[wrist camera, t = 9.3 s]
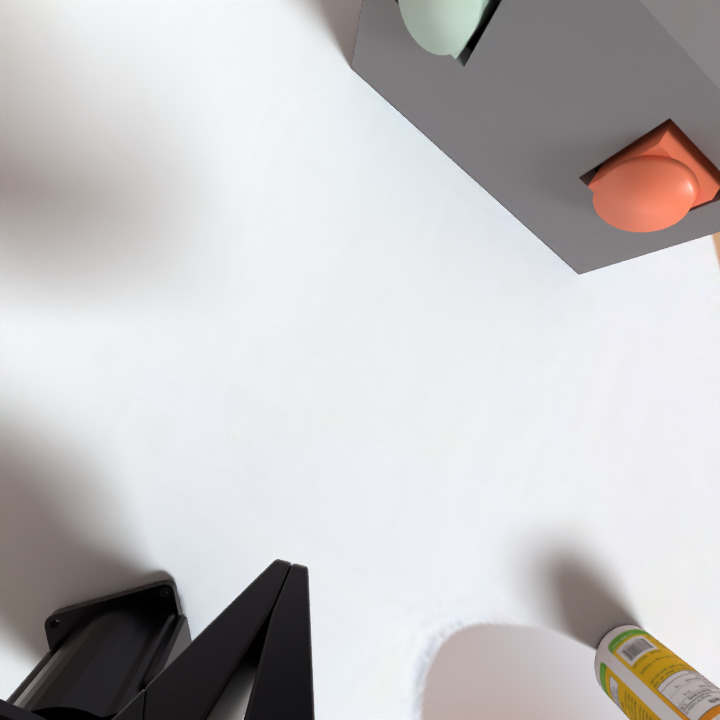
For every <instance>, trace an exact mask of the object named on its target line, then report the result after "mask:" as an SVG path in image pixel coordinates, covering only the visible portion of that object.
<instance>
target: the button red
mask: <svg viewBox="0 0 720 720" xmlns="http://www.w3.org/2000/svg"><path fill="white" fill-rule="evenodd" d="M588 187H589V188H590V189H591V190H592V191H593V192H594V194H593V205H594V208H595V211H596V212H597V214H598V215H599V216H600V217H601V219H603V220H604V221H605V222H606V223H608V224H610V225H611V226H613V227H616V228H618V229H621V230H625V231H630V232H653V231H658V230H661V229H665V228H667V227H670V226H672V225H674V224H675V223H677V222H678V221H680V220H681V219H682V218H683V217H684V216H685V215H686V214H687V213H688V211H689V210H690V208H692V207H694V206H697V205H699V204H702V203H704V202H707V201H710V200H712V199H713V198H714V196H715V195H716V193H717V192H718V190H719V188H720V171H719V170H718V169H717V167H716V166H715V165H714V164H713V163H712V162H711V161H710V160H709V159H708V158H707V157H706V156H705V155H704V154H703V153H702V152H701V151H700V149H699V148H698V147H697V146H696V145H695V144H694V143H693V142H692V141H691V140H690V139H689V138H688V137H687V136H686V135H685V134H684V133H683V131H682V130H681V129H680V128H679V127H678V126H677V125H676V124H675V123H674V122H673V121H672V120H671V119H670V118H669V119H668V120H666V121H665V122H663V123H661V124H660V125H658V126H657V127H655V128H654V129H652V130H651V131H649V132H648V133H646V134H645V135H643V136H642V137H640V138H639V139H637V140H635V141H634V142H632V143H631V144H629V145H628V146H626V147H625V148H623V149H622V150H620V151H619V152H617V153H616V154H614V155H613V156H611V157H609V158H608V159H606V160H605V162H604V163H603V165H602V166H601V167H600V169H599V170H598V172H597V173H596V175H595V176H594V178H593V179H592V181H591V182H590V183H589V185H588Z"/></svg>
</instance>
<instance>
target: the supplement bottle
mask: <svg viewBox="0 0 720 720" xmlns="http://www.w3.org/2000/svg"><path fill="white" fill-rule="evenodd" d="M595 673H596V677H597V681H598V683H599V685H600V686H601V688H602V689H603V690H604V692H605V693H606V694H607V695H608V696H609V697H610V698H611V699H612V701H613V702H614V703H615V704H616V705H617V706H618V707H619V708H620V709H621V710H622V711H623V712H624V714H625V715H626V716H627V717H628V718H629V719H630V720H720V689H719V688H718V687H717V686H715V685H714V684H713V683H711V682H710V681H709V680H708V679H706V678H705V677H704V676H703V675H701V674H700V673H699V672H697V671H696V670H695V669H694V668H692V667H691V666H690V665H688V664H687V663H686V662H685V661H683V660H682V659H681V658H679V657H678V656H677V655H676V654H674V653H673V652H672V651H671V650H669V649H668V648H667V647H665V646H664V645H663V644H662V643H660V642H659V641H658V640H657V639H655V638H654V637H653V636H651V635H650V634H649V633H647V632H646V631H645V630H643V629H641V628H639V627H637V626H633V625H624V626H620V627H617V628H615V629H613V630H611V631H610V632H609V633H608V634H607V635H606V636H605V637H604V638H603V639H602V641H601V642H600V644H599V647H598V649H597V652H596V656H595Z"/></svg>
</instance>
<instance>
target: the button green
mask: <svg viewBox="0 0 720 720" xmlns="http://www.w3.org/2000/svg"><path fill="white" fill-rule="evenodd" d="M500 1H501V0H398V2H399V7H400V11H401V14H402V18H403V20H404V23H405V25H406V27H407V29H408V31H409V32H410V34H411V36H412V37H413V38H414V40H415V41H416V42H417V43H418V44H419V45H420V46H421V47H422V48H423V49H425V50H427V51H428V52H430V53H432V54H436V55H449V54H451V55H452V56H453V57H454V58H455V59H456V58H457V57H458V55H459V54H460V53H461V52H462V50H463V49H464V48H465V46H466V45H467V44H468V43H469V41H470V40H471V39H472V38H473V36H474V35H475V34H476V32H477V31H478V30H479V29H480V27H481V26H482V25H483V23H484V22H485V21H486V20H487V18H488V17H489V16H490V15H491V13H492V12H493V11H494V9H495V8H496V7H497V6H498V4H499V3H500Z"/></svg>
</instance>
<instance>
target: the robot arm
mask: <svg viewBox="0 0 720 720" xmlns="http://www.w3.org/2000/svg"><path fill="white" fill-rule="evenodd" d="M162 589H168V590H169V592H168V593H165V592H163V590H162ZM55 619H58V620H60V622H61V623H58V622H56V620H55ZM45 631H46V635H47V640H48V644H49V649H50V651H49V652H48V653H47V654H46V655H45V657H44V658H43V659H42V660H41V661H40V662H39V663H38V665H37V666H36V667H35V668H34V669H33V670H32V672H31V673H30V674H29V675H28V676H27V677H26V679H25V680H24V681H23V682H22V683H21V684H20V686H19V687H18V688H17V689H16V690H15V691H14V693H13V694H12V695H11V696H10V697H9V698H8V700H7V701H4V700H2V699H0V720H242V719H243V717H244V714H245V717H244V720H315V716H314V692H313V669H312V646H311V622H310V599H309V576H308V568H307V567H306V566H303V565H299V564H293V565H291V563H290V562H288V561H284V560H280V559H277V560H275V561H274V562H273V563H272V564H270V565H269V566H268V567H267V568H266V569H265V570H264V571H263V572H262V573H261V574H260V575H259V576H258V577H257V578H256V579H255V580H254V581H253V582H252V583H251V584H250V585H249V586H248V587H247V588H246V589H245V590H244V591H243V592H242V593H241V594H240V595H239V596H238V597H237V598H236V599H235V600H234V601H233V602H232V603H231V604H230V605H229V606H228V607H227V608H226V609H225V610H224V611H223V612H222V613H221V614H220V615H219V616H218V617H217V618H216V619H214V620H213V621H212V622H211V623H210V624H209V625H208V626H207V627H206V628H205V629H204V630H203V631H202V632H201V633H200V634H199V635H198V636H197V637H196V638H195V639H194V640H193V641H192V640H191V636H190V631H189V626H188V621H187V617H186V616H185V615H183V614H182V611H181V606H180V602H179V597H178V592H177V587H176V584H175V582H173V581H172V580H164V581H160V582H156V583H153V584H149V585H145V586H142V587H138V588H135V589H131V590H127V591H124V592H120V593H117V594H113V595H109V596H106V597H102V598H99V599H95V600H91V601H88V602H84V603H80V604H77V605H73V606H70V607H66V608H62V609H59V610H57V611H55V612H54V613H52V614H51V616H50V617H49V618H48V619H47V620H46V622H45ZM245 712H246V713H245Z"/></svg>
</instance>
